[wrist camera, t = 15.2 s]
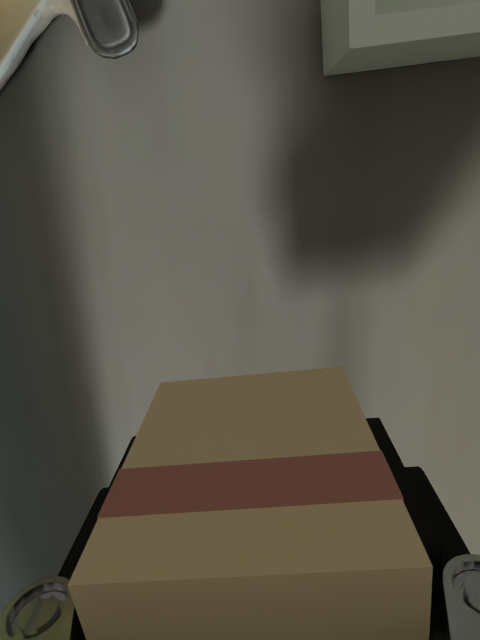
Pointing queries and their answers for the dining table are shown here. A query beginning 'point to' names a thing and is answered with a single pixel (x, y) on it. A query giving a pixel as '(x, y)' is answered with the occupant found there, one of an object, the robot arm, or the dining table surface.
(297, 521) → the cardboard box
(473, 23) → the tote
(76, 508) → the dining table surface
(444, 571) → the robot arm
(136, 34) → the salad plate
